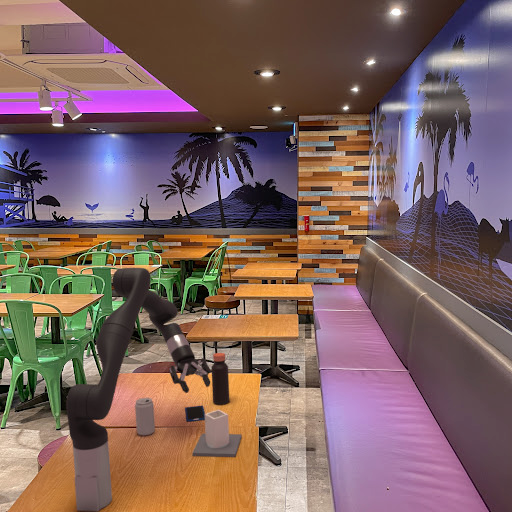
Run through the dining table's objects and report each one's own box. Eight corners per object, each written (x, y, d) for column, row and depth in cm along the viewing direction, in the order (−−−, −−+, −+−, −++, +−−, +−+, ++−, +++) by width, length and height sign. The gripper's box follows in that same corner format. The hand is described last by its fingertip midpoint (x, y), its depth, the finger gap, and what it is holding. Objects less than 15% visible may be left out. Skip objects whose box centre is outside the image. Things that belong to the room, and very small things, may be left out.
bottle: (214, 406, 207) (212, 357, 205) (211, 400, 214) (209, 353, 212) (231, 404, 209) (229, 355, 207) (227, 398, 215) (225, 351, 213)
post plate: (235, 456, 165) (234, 436, 165) (192, 455, 167) (191, 435, 166) (241, 437, 179) (240, 417, 178) (202, 436, 181) (201, 417, 180)
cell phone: (186, 423, 193) (186, 421, 193) (184, 408, 207) (184, 407, 207) (206, 421, 194) (206, 419, 194) (203, 406, 208) (203, 405, 208)
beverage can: (150, 437, 182) (148, 404, 180) (133, 436, 183) (131, 403, 182) (157, 429, 188) (155, 397, 187) (141, 428, 189) (139, 396, 188)
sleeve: (229, 443, 173) (228, 414, 172) (215, 448, 169) (213, 419, 168) (219, 437, 177) (218, 409, 176) (206, 442, 174) (204, 414, 172)
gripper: (165, 348, 181) (183, 388, 173) (200, 340, 190) (219, 378, 182) (159, 359, 186) (176, 399, 178) (193, 351, 195) (211, 389, 187)
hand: (198, 388), depth 180 cm, fingers open, 8 cm apart
